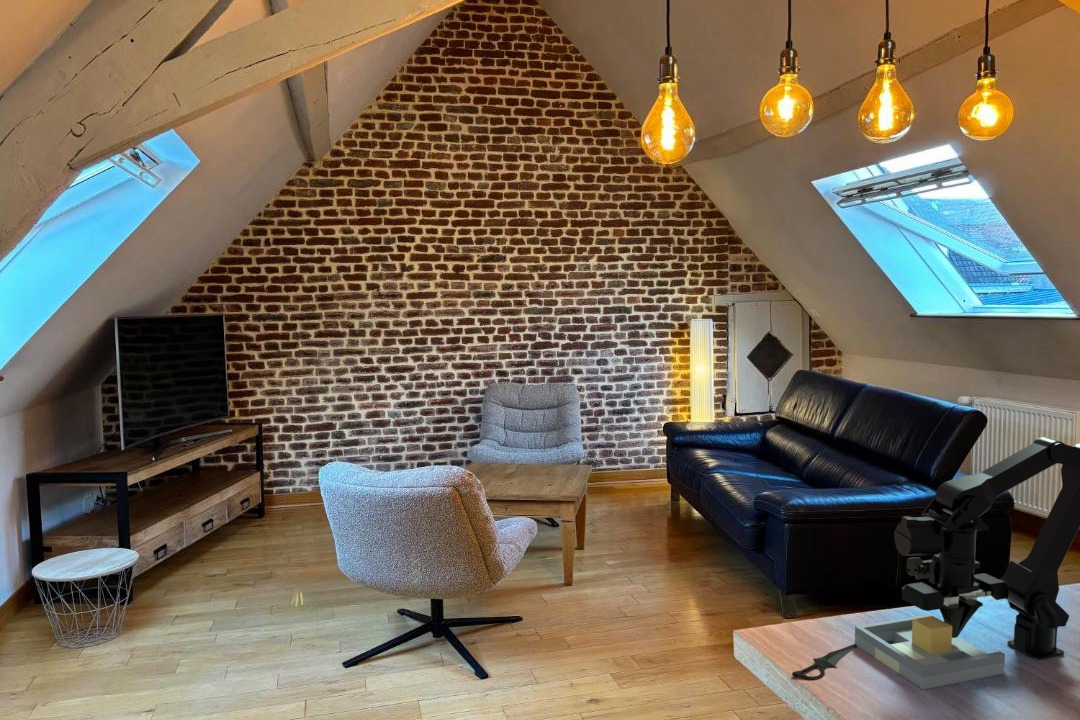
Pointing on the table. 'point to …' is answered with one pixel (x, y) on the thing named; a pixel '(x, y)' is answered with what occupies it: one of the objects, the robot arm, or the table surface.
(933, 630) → the block
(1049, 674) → the table surface
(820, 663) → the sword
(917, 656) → the tray
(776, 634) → the table surface
